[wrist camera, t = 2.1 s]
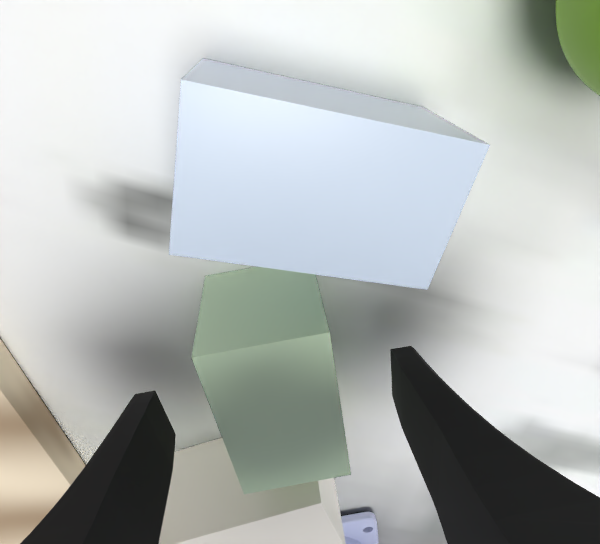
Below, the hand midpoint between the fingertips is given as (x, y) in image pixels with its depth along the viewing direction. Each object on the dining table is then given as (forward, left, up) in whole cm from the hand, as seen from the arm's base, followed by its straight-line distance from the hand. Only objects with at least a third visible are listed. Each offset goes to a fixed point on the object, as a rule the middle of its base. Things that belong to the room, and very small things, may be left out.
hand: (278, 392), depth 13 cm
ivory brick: (-7, +2, -3) cm, 7 cm away
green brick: (0, 0, -3) cm, 3 cm away
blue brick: (+6, -2, -3) cm, 7 cm away
